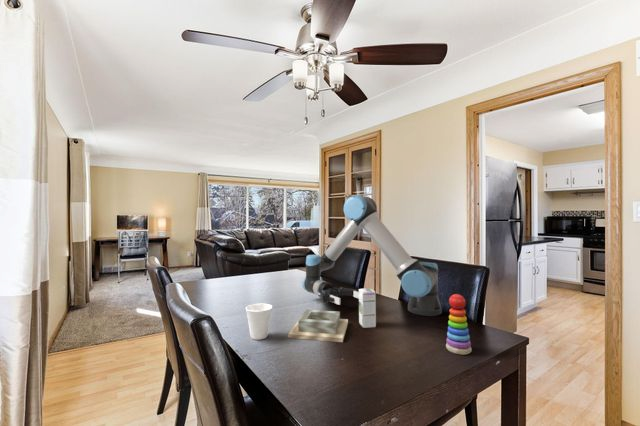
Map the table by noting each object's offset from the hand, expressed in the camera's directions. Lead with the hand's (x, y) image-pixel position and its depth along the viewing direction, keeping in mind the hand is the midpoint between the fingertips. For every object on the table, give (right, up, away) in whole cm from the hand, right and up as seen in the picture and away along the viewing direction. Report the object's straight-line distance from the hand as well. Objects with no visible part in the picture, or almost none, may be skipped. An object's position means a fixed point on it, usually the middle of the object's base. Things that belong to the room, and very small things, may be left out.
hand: (352, 299), depth 136 cm
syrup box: (+5, -9, -8) cm, 13 cm away
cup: (-37, -8, -20) cm, 43 cm away
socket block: (-14, -8, -13) cm, 21 cm away
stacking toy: (+33, -9, -31) cm, 46 cm away
